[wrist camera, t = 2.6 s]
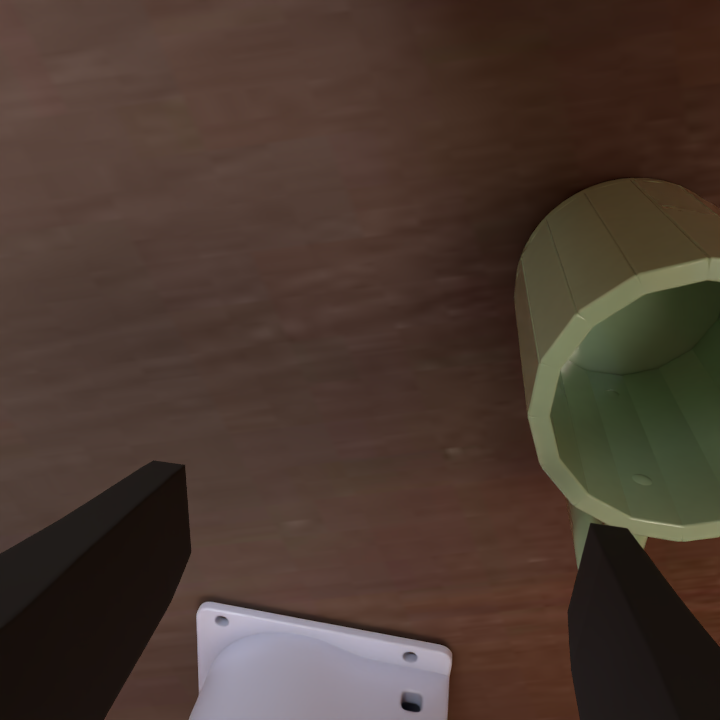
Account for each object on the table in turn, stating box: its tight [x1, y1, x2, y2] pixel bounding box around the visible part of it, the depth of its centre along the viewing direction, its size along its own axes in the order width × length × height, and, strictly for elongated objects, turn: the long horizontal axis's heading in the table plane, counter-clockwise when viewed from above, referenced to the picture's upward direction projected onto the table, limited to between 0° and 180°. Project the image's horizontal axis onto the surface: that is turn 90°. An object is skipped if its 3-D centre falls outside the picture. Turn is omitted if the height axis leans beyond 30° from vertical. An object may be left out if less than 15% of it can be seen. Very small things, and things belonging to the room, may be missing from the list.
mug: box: [514, 178, 720, 569], centre depth 16 cm, size 9×6×7 cm, turn 175°
